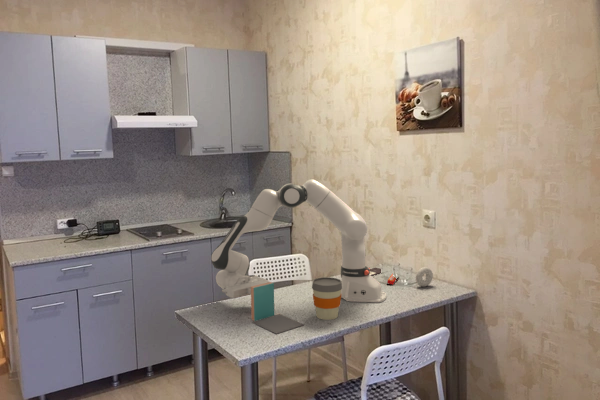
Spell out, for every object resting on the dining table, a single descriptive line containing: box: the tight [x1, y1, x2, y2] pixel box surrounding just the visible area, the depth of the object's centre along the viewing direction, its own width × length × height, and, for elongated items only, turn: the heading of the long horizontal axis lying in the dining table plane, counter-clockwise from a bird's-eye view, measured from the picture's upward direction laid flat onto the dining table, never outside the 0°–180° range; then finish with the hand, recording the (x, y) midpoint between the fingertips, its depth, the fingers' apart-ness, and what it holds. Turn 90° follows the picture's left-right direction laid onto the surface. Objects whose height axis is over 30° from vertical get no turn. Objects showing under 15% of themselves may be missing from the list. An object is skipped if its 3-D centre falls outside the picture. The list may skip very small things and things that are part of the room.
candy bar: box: [387, 273, 397, 286], centre depth 261 cm, size 16×4×3 cm, turn 159°
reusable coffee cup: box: [311, 276, 342, 321], centre depth 210 cm, size 13×13×15 cm
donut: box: [415, 266, 434, 288], centre depth 250 cm, size 10×4×10 cm, turn 117°
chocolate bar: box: [369, 267, 382, 277], centre depth 277 cm, size 9×1×18 cm
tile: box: [250, 281, 275, 322], centre depth 209 cm, size 2×10×14 cm, turn 130°
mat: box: [252, 313, 305, 335], centre depth 202 cm, size 16×14×1 cm
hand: (258, 292), depth 211 cm, fingers closed
